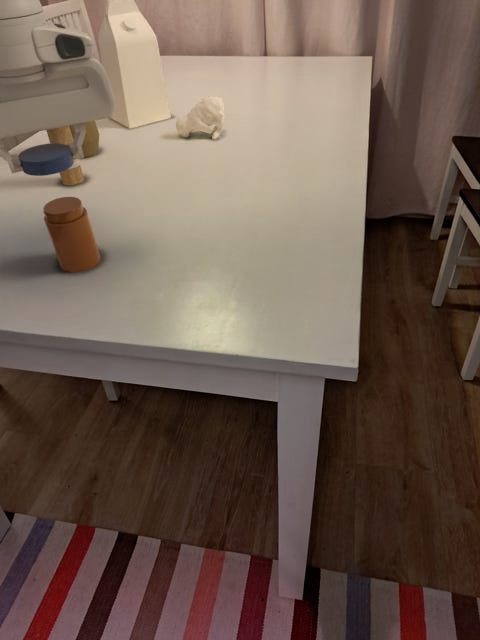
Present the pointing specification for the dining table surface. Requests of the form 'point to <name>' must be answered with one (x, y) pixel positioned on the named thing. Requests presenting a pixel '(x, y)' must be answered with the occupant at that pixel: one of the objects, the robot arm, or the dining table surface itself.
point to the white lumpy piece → (203, 117)
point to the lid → (46, 159)
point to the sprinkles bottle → (74, 172)
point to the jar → (71, 234)
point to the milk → (132, 65)
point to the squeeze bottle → (89, 139)
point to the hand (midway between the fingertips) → (48, 164)
